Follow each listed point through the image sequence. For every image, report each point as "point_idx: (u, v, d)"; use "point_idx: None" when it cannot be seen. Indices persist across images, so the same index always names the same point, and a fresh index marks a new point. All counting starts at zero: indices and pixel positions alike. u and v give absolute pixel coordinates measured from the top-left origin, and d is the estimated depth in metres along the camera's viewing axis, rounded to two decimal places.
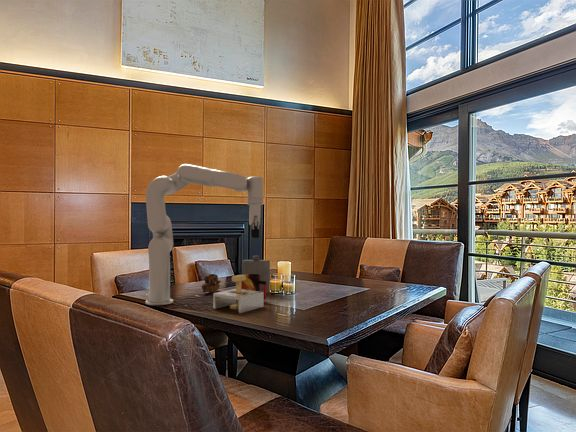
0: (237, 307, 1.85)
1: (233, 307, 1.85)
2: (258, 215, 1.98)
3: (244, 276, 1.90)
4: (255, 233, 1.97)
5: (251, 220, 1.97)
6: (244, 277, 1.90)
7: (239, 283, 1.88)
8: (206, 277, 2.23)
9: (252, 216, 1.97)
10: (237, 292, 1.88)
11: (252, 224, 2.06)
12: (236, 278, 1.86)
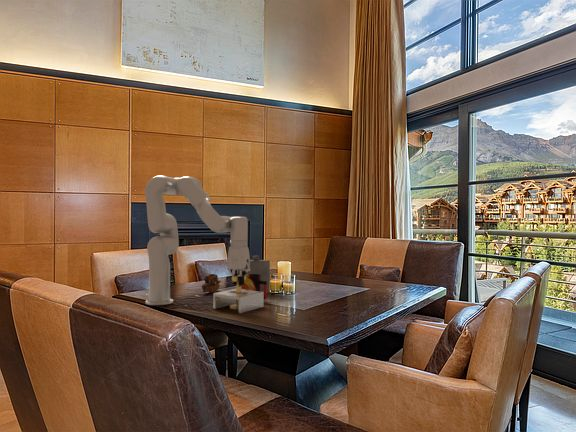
0: (237, 307, 1.85)
1: (233, 307, 1.85)
2: (249, 258, 1.87)
3: (244, 276, 1.90)
4: (242, 280, 1.87)
5: (244, 264, 1.84)
6: (244, 277, 1.90)
7: None
8: (206, 277, 2.23)
9: (245, 260, 1.85)
10: (237, 292, 1.88)
11: (234, 268, 1.89)
12: (236, 278, 1.86)
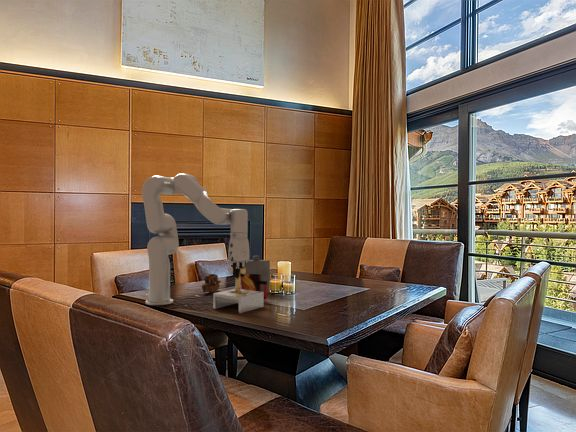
0: None
1: None
2: None
3: None
4: None
5: None
6: None
7: None
8: (206, 277, 2.23)
9: None
10: (240, 284, 1.88)
11: (238, 261, 1.87)
12: None
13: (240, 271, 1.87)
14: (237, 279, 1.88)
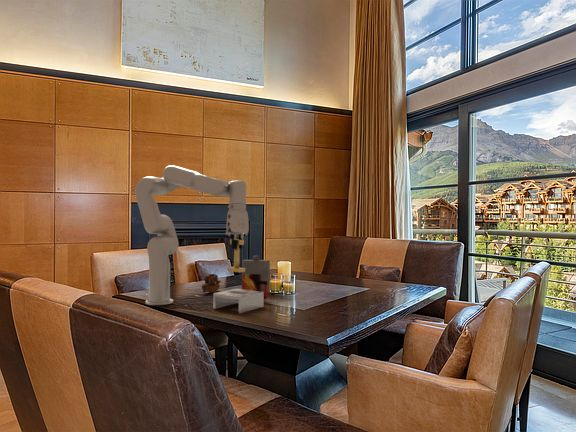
0: None
1: (243, 270, 1.87)
2: None
3: None
4: None
5: None
6: None
7: None
8: (206, 277, 2.23)
9: None
10: (238, 256, 1.89)
11: None
12: None
13: (238, 242, 1.87)
14: (235, 250, 1.88)
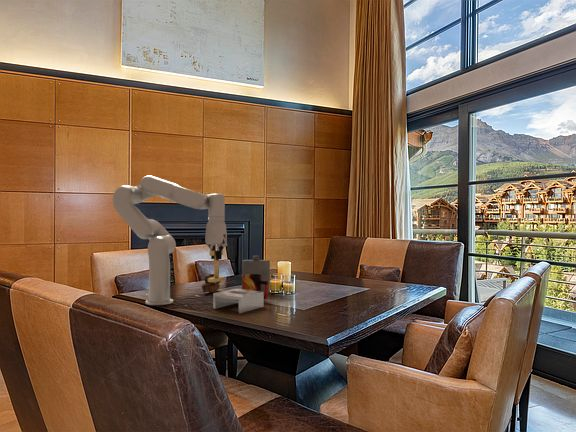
0: (214, 280, 1.93)
1: (211, 280, 1.93)
2: (226, 233, 1.95)
3: (222, 251, 1.98)
4: (220, 255, 1.95)
5: (221, 239, 1.92)
6: (222, 252, 1.98)
7: None
8: (206, 277, 2.23)
9: (222, 235, 1.92)
10: (215, 266, 1.95)
11: None
12: (213, 252, 1.93)
13: None
14: None
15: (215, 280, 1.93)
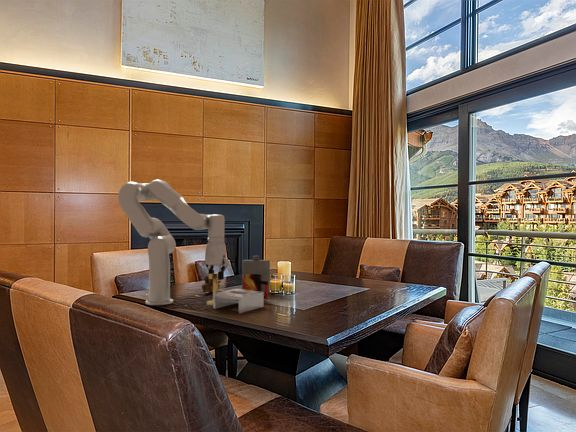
0: None
1: (210, 303, 1.93)
2: (225, 254, 1.95)
3: None
4: (222, 275, 1.94)
5: (221, 260, 1.92)
6: None
7: (216, 280, 1.95)
8: (206, 277, 2.23)
9: (221, 256, 1.92)
10: (214, 289, 1.95)
11: (210, 264, 1.97)
12: (213, 275, 1.93)
13: None
14: None
15: None
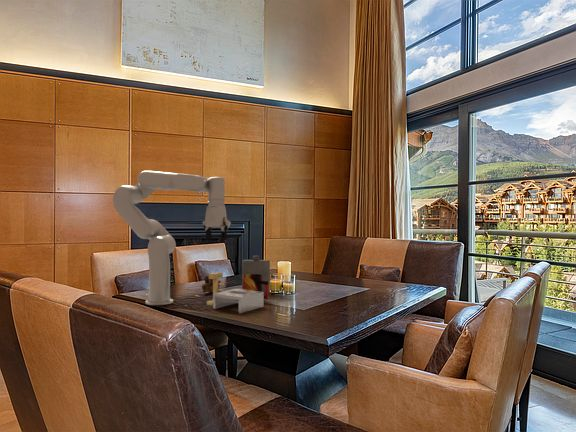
0: None
1: (210, 303, 1.93)
2: (225, 217, 1.95)
3: (221, 274, 1.98)
4: (225, 235, 1.93)
5: (221, 222, 1.92)
6: (221, 274, 1.98)
7: (216, 280, 1.95)
8: (206, 277, 2.23)
9: (221, 218, 1.93)
10: (214, 289, 1.95)
11: None
12: (213, 275, 1.93)
13: None
14: None
15: None
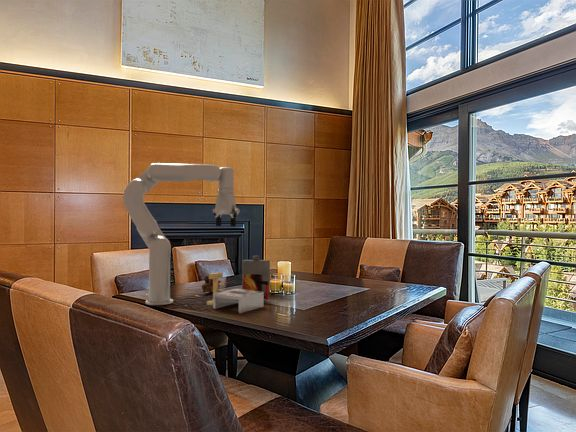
0: None
1: (210, 303, 1.93)
2: (235, 204, 2.08)
3: (221, 274, 1.98)
4: (234, 222, 2.06)
5: (230, 209, 2.05)
6: (221, 274, 1.98)
7: (216, 280, 1.95)
8: (206, 277, 2.23)
9: (231, 205, 2.05)
10: (214, 289, 1.95)
11: (219, 213, 2.10)
12: (213, 275, 1.93)
13: None
14: None
15: None
